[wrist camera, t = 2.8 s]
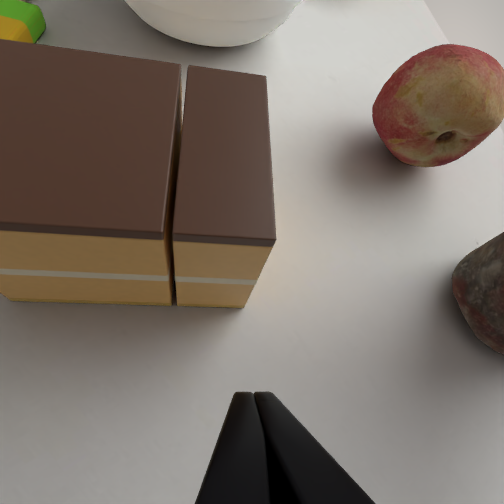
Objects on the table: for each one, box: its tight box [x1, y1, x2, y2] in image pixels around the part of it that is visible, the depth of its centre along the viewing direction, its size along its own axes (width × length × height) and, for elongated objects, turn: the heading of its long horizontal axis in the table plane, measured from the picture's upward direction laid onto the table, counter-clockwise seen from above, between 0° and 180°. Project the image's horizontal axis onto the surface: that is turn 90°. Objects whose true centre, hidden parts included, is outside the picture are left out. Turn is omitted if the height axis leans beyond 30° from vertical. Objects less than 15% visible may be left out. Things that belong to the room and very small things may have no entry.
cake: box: [0, 39, 182, 306], centre depth 17 cm, size 9×8×8 cm
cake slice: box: [172, 65, 276, 308], centre depth 19 cm, size 12×4×8 cm, turn 1°
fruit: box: [372, 44, 504, 167], centre depth 24 cm, size 8×8×8 cm
